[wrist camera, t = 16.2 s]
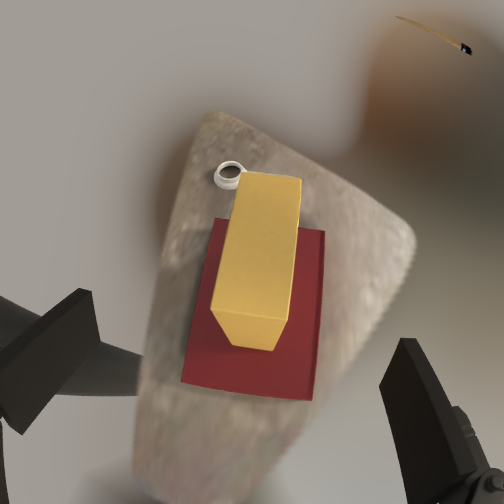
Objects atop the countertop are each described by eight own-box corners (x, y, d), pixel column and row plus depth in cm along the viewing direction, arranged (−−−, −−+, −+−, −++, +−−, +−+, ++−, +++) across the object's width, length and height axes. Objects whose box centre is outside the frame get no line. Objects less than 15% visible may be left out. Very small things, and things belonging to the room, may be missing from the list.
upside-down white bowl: (227, 165, 37) (204, 191, 36) (225, 150, 35) (200, 176, 33) (259, 180, 36) (237, 208, 34) (259, 164, 33) (235, 193, 32)
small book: (231, 345, 24) (209, 309, 13) (247, 256, 27) (241, 167, 16) (273, 351, 23) (287, 320, 12) (285, 261, 27) (302, 175, 16)
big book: (304, 398, 25) (312, 400, 21) (190, 382, 26) (180, 382, 22) (318, 248, 32) (325, 230, 28) (219, 237, 33) (214, 217, 29)
